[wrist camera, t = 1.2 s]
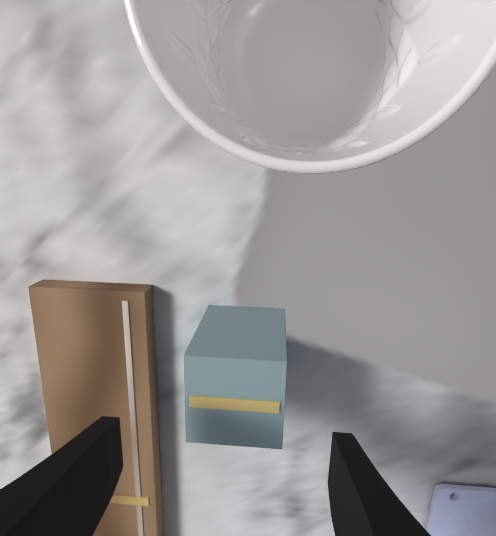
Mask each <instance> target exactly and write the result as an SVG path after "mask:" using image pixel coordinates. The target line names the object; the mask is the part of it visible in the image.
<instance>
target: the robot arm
mask: <svg viewBox="0 0 496 536" xmlns="http://www.w3.org/2000/svg"><path fill="white" fill-rule="evenodd" d="M123 467H124V466H123V454H122V442H121V429H120V417H109V416H102V417H100V418H99V419H98V420H96V421H95V422H94V423H92V424H91V425H90V426H88V427H87V428H86V429H84V430H83V431H82V432H81V433H79V434H78V435H77V436H75V437H74V438H73V439H72V440H70V441H69V442H68V443H66V444H65V445H64V446H62V447H61V448H60V449H58V450H57V451H56V452H54V453H53V454H52V455H50V456H49V457H48V458H46V459H45V460H43V461H42V462H40V463H39V464H38V465H36V466H35V467H33V468H32V469H30V470H29V471H28V472H26V473H25V474H23V475H22V476H20V477H19V478H17V479H16V480H14V481H13V482H11V483H10V484H8V485H7V486H5V487H3V488H2V489H0V536H93V534H94V532H95V530H96V528H97V526H98V524H99V522H100V520H101V518H102V516H103V514H104V512H105V510H106V508H107V506H108V505H109V502H110V500H111V498H112V496H113V494H114V491H115V488H116V486H117V483H118V481H119V478H120V475H121V472H122V470H123ZM328 489H329V499H330V508H331V517H332V522H333V527H334V531H335V536H496V488H490V487H478V486H465V485H453V484H439V485H437V486H436V487H435V488H434V490H433V496H432V501H431V506H430V511H429V516H428V522H427V527H426V530H425V529H424V528H423V527H422V525H421V524H420V523H419V522H418V521H417V520H416V519H415V518H414V516H413V515H412V514H411V513H410V512H409V511H408V509H407V508H406V507H405V506H404V505H403V503H402V502H401V501H400V500H399V499H398V497H397V496H396V495H395V493H394V492H393V491H392V490H391V488H390V487H389V486H388V484H387V483H386V482H385V480H384V479H383V478H382V476H381V475H380V474H379V472H378V471H377V469H376V468H375V467H374V465H373V464H372V462H371V461H370V459H369V458H368V457H367V455H366V454H365V452H364V451H363V449H362V447H361V446H360V444H359V443H358V441H357V440H356V438H355V437H354V435H353V434H352V433H339V432H333V436H332V446H331V456H330V466H329V476H328ZM452 493H454V494H452ZM451 494H452V495H451Z"/></svg>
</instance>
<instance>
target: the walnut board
mask: <svg viewBox="0 0 496 536" xmlns="http://www.w3.org/2000/svg"><path fill="white" fill-rule="evenodd" d="M29 294H30V301H31V309H32V316H33V323H34V330H35V337H36V344H37V351H38V359H39V366H40V373H41V380H42V387H43V394H44V402H45V409H46V416H47V423H48V430H49V437H50V444H51V452H52V454H53V453H54V452H56V451H57V450H58V449H60V448H61V447H62V446H64V445H65V444H66V443H68V442H69V441H70V440H72V439H73V438H74V437H75V436H77V435H78V434H79V433H81V432H82V431H83V430H84V429H86V428H87V427H88V426H90V425H91V424H92V423H94V422H95V421H96V420H98V419H99V418H100V417H102V416H109V417H120V429H121V442H122V454H123V466H124V467H123V470H122V472H121V475H120V478H119V481H118V483H117V486H116V488H115V491H114V494H113V496H112V498H111V500H110V502H109V505H108V506H107V508H106V510H105V512H104V514H103V516H102V518H101V520H100V522H99V524H98V526H97V528H96V530H95V532H94V534H93V536H164V525H163V504H162V483H161V462H160V441H159V420H158V399H157V378H156V357H155V335H154V314H153V293H152V285H145V284H124V283H102V282H81V281H59V280H41V281H39V282H37V283H35V284H33V285H31V286H29Z"/></svg>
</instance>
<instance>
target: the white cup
mask: <svg viewBox="0 0 496 536" xmlns="http://www.w3.org/2000/svg"><path fill="white" fill-rule="evenodd" d="M124 3H125V8H126V12H127V16H128V20H129V23H130V26H131V30H132V33H133V36H134V38H135V41H136V44H137V46H138V49H139V51H140V53H141V56H142V58H143V60H144V62H145V64H146V66H147V68H148V70H149V72H150V74H151V75H152V77H153V79H154V80H155V82H156V84H157V85H158V87H159V88H160V90H161V91H162V93H163V94H164V95H165V97H166V98H167V99H168V101H169V102H170V103H171V105H172V106H173V107H174V108H175V109H176V111H177V112H178V113H179V114H180V115H181V116H182V117H183V118H184V119H185V120H186V121H187V122H188V123H189V124H190V125H191V126H192V127H193V128H194V129H196V130H197V131H198V132H199V133H200V134H202V135H203V136H204V137H205V138H207V139H208V140H210V141H211V142H212V143H214V144H215V145H217V146H219V147H220V148H222V149H223V150H225V151H227V152H229V153H231V154H233V155H235V156H237V157H239V158H241V159H243V160H246V161H248V162H251V163H253V164H256V165H259V166H262V167H266V168H270V169H274V170H279V171H285V172H292V173H305V174H308V173H309V174H320V173H333V172H340V171H346V170H351V169H355V168H360V167H363V166H367V165H370V164H373V163H376V162H379V161H381V160H384V159H386V158H389V157H391V156H393V155H395V154H397V153H399V152H401V151H403V150H405V149H407V148H409V147H411V146H412V145H414V144H416V143H417V142H419V141H420V140H422V139H423V138H425V137H426V136H428V135H429V134H431V133H432V132H433V131H435V130H436V129H437V128H439V127H440V126H441V125H442V124H444V123H445V122H446V121H447V120H448V119H450V118H451V117H452V116H453V115H454V114H455V113H456V112H457V111H458V110H459V109H460V108H461V107H462V106H463V105H464V104H465V103H466V102H467V101H468V100H469V99H470V97H472V95H473V94H474V93H475V92H476V91H477V89H478V88H479V87H480V86H481V85H482V83H483V82H484V81H485V79H486V78H487V77H488V75H489V74H490V73H491V71H492V70H493V69H494V67H495V65H496V0H124Z"/></svg>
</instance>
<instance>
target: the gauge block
mask: <svg viewBox="0 0 496 536" xmlns="http://www.w3.org/2000/svg"><path fill="white" fill-rule="evenodd" d="M286 371H287V350H286V328H285V309H281V308H261V307H260V308H259V307H240V306H238V307H237V306H217V305H209V306H208V308H207V310H206V312H205V314H204V316H203V318H202V320H201V322H200V324H199V326H198V328H197V330H196V332H195V334H194V336H193V338H192V340H191V342H190V344H189V346H188V348H187V350H186V352H185V354H184V383H185V423H186V442H193V443H206V444H219V445H233V446H246V447H259V448H273V449H282V442H283V424H284V407H285V389H286Z"/></svg>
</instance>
